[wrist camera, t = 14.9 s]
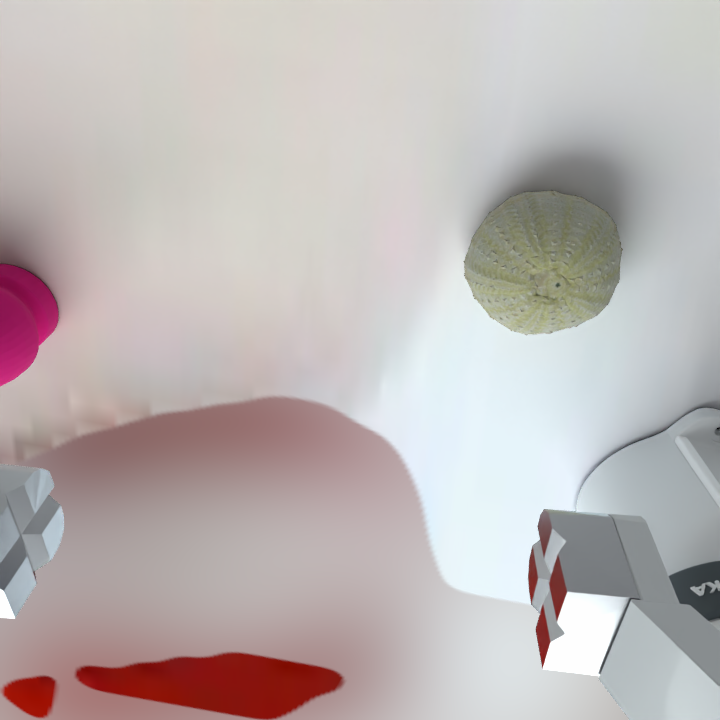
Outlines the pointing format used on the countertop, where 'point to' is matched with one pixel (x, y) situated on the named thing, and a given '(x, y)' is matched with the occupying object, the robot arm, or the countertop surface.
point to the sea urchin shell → (544, 262)
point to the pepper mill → (23, 319)
